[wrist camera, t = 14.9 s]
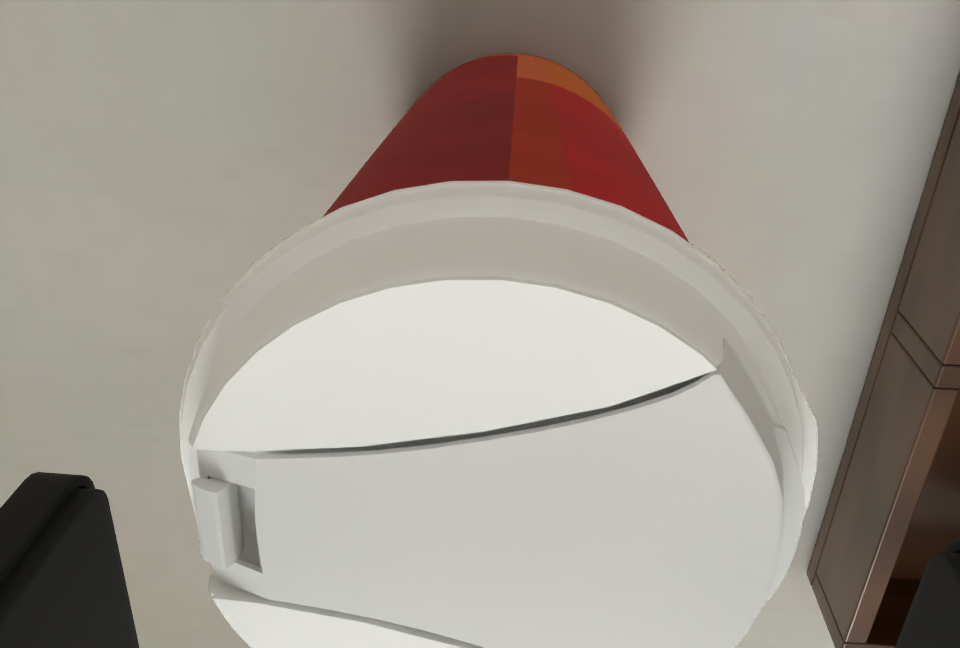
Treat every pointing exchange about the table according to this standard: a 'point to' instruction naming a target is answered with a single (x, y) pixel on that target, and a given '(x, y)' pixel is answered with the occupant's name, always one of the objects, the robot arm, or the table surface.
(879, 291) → the table surface
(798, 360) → the table surface
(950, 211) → the organizer
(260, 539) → the coffee cup
